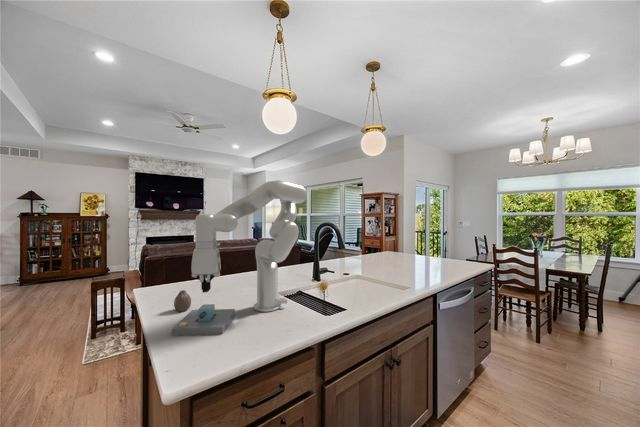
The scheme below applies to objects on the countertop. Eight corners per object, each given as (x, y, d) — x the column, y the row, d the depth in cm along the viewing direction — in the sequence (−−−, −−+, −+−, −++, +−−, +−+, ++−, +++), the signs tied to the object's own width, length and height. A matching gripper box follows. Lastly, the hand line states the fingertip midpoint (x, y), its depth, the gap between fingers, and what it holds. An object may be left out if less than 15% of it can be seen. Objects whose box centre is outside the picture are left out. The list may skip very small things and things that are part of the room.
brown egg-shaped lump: (170, 312, 116) (170, 292, 116) (183, 306, 123) (183, 288, 123) (182, 314, 114) (182, 294, 114) (194, 308, 121) (194, 289, 121)
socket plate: (234, 314, 113) (234, 307, 113) (222, 333, 95) (222, 324, 95) (192, 315, 112) (192, 308, 112) (171, 335, 94) (171, 326, 94)
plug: (214, 321, 107) (214, 304, 107) (207, 329, 99) (207, 311, 99) (203, 321, 106) (203, 304, 106) (195, 330, 98) (195, 311, 98)
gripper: (227, 244, 108) (227, 288, 108) (190, 244, 107) (190, 289, 107) (222, 246, 100) (222, 294, 101) (182, 246, 99) (182, 294, 99)
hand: (206, 291), depth 104 cm, fingers closed
